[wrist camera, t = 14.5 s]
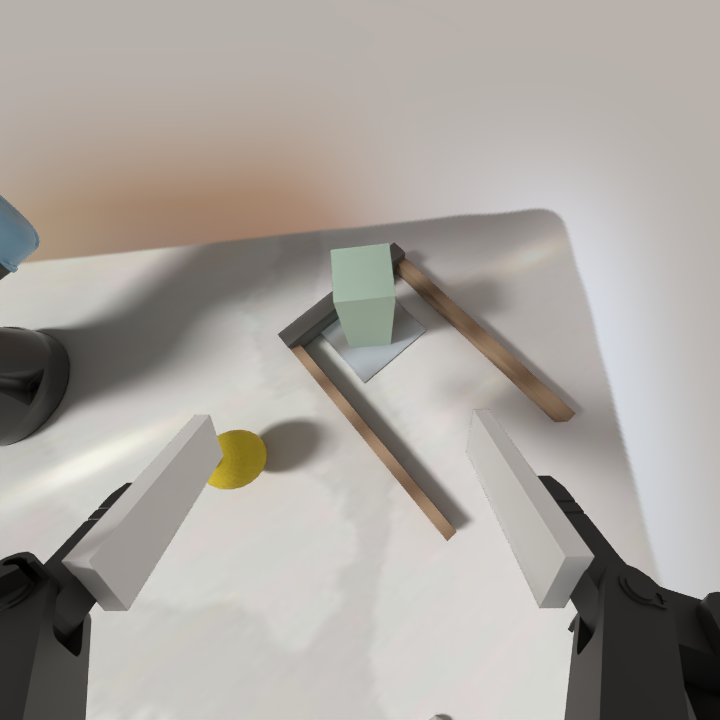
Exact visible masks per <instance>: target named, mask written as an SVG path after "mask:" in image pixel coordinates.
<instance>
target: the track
mask: <svg viewBox="0 0 720 720" xmlns="http://www.w3.org/2000/svg"><path fill="white" fill-rule="evenodd" d="M390 254H391V262H392V270H393V275H394V274H395V273H396V272H397V273H398V274H399V275H400V276H401V277H402V278H403V279H404V280H405V281H406V282H407V283H408V284H409V285H410V286H411V287H413V288H414V289H415V290H416V291H417V292H418V293H419V294H420V295H421V296H422V297H423V298H424V299H425V300H426V301H427V302H428V303H430V304H431V305H432V306H433V307H434V308H435V309H436V310H437V311H438V312H439V313H440V314H441V315H442V316H443V317H444V318H445V319H447V320H448V321H449V322H450V323H451V324H452V325H453V326H454V327H455V328H456V329H457V330H458V331H459V332H460V333H461V334H462V335H464V336H465V337H466V338H467V339H468V340H469V341H470V342H471V343H472V344H473V345H474V346H475V347H476V348H477V349H478V350H479V351H480V352H482V353H483V354H484V355H485V356H486V357H487V358H488V359H489V360H490V361H491V362H492V363H493V364H494V365H495V366H496V367H497V368H499V369H500V370H501V371H502V372H503V373H504V374H505V375H506V376H507V377H508V378H509V379H510V380H511V381H512V382H513V383H514V384H516V385H517V386H518V387H519V388H520V389H521V390H522V391H523V392H524V393H525V394H526V395H527V396H528V397H529V398H530V399H531V400H533V401H534V402H535V403H536V404H537V405H538V406H539V407H540V408H541V409H542V410H543V411H544V412H545V413H546V414H547V415H548V416H550V417H551V418H552V419H553V420H554V421H555V422H565V421H569V420H570V419H571V418H572V417H573V416H574V415H575V414H576V413H574V412H573V411H572V410H571V409H570V408H569V407H568V406H567V405H566V404H565V403H564V402H562V401H561V400H560V399H559V398H558V397H557V396H556V395H555V394H554V393H553V392H551V391H550V390H549V389H548V388H547V387H546V386H545V385H544V384H543V383H542V382H540V381H539V380H538V379H537V378H536V377H535V376H534V375H533V374H532V373H531V372H530V371H528V370H527V369H526V368H525V367H524V366H523V365H522V364H521V363H520V362H519V361H517V360H516V359H515V358H514V357H513V356H512V355H511V354H510V353H509V352H508V351H506V350H505V349H504V348H503V347H502V346H501V345H500V344H499V343H498V342H497V341H496V340H494V339H493V338H492V337H491V336H490V335H489V334H488V333H487V332H486V331H485V330H483V329H482V328H481V327H480V326H479V325H478V324H477V323H476V322H475V321H474V320H472V319H471V318H470V317H469V316H468V315H467V314H466V313H465V312H464V311H463V310H462V309H460V308H459V307H458V306H457V305H456V304H455V303H454V302H453V301H452V300H451V299H449V298H448V297H447V296H446V295H445V294H444V293H443V292H442V291H441V290H440V289H438V288H437V287H436V286H435V285H434V284H433V283H432V282H431V281H430V280H429V279H428V278H426V277H425V276H424V275H423V274H422V273H421V272H420V271H419V270H418V269H417V268H415V267H414V266H413V265H412V264H411V263H410V262H409V261H408V260H407V259H406V258H404V257H405V252H404V251H403V250H402V249H401V248H400V247H399V246H398V245H396V244H395V243H393V244H391V245H390ZM425 331H426V329H425V328H424V327H423V326H422V325H421V324H419V323H418V322H417V321H416V320H415V319H414V318H413V317H412V316H411V315H410V314H409V313H408V312H407V311H406V310H405V309H404V308H403V307H402V306H401V305H400V304H399V303H398V302H397V301H396V300H395V308H394V317H393V327H392V336H391V344H390V345H380V346H369V347H359V348H350V347H349V344H348V341H347V339H346V336H345V333H344V330H343V328H342V325H341V322H340V319H339V317H338V314H337V311H336V308H335V306H334V303H333V291H332V292H331V293H329V294H328V295H327V296H326V297H324V298H323V299H322V300H321V301H319V302H318V303H317V304H316V305H314V306H313V307H312V308H310V309H309V310H308V311H307V312H305V313H304V314H303V315H302V316H300V317H299V318H298V319H297V320H295V321H294V322H293V323H291V324H290V325H289V326H288V327H286V328H285V329H284V330H283V331H281V332H280V333H279V334H278V335H279V337H280V338H281V339H282V340H283V342H284V343H285V344H286V345H287V346H288V347H289V348H290V349H291V351H292V352H293V353H294V354H295V355H296V357H297V358H298V359H299V360H300V362H301V363H302V364H303V365H304V366H305V368H306V369H307V370H308V371H309V373H310V374H311V375H312V376H313V377H314V379H315V380H316V381H317V382H318V384H319V385H320V386H321V387H322V388H323V390H324V391H325V392H326V393H327V395H328V396H329V397H330V398H331V399H332V401H333V402H334V403H335V404H336V406H337V407H338V408H339V409H340V410H341V412H342V413H343V414H344V415H345V417H346V418H347V419H348V420H349V421H350V423H351V424H352V425H353V426H354V428H355V429H356V430H357V431H358V432H359V434H360V435H361V436H362V437H363V439H364V440H365V441H366V442H367V444H368V445H369V446H370V447H371V448H372V450H373V451H374V452H375V453H376V455H377V456H378V457H379V458H380V459H381V461H382V462H383V463H384V464H385V466H386V467H387V468H388V469H389V470H390V472H391V473H392V474H393V475H394V477H395V478H396V479H397V480H398V481H399V483H400V484H401V485H402V486H403V488H404V489H405V490H406V491H407V492H408V494H409V495H410V496H411V497H412V499H413V500H414V501H415V502H416V503H417V505H418V506H419V507H420V508H421V510H422V511H423V512H424V513H425V514H426V516H427V517H428V518H429V519H430V521H431V522H432V523H433V524H434V525H435V527H436V528H437V529H438V530H439V532H440V533H441V534H442V535H443V536H444V538H445V539H446V540H447V541H448V540H449V539H450V538H451V537H452V536H453V535H454V534H455V533H456V531H455V530H454V528H453V527H452V526H451V524H450V523H449V522H448V521H447V520H446V518H445V517H444V516H443V515H442V514H441V512H440V511H439V510H438V509H437V508H436V506H435V505H434V504H433V503H432V502H431V500H430V499H429V498H428V497H427V496H426V494H425V493H424V492H423V491H422V490H421V489H420V487H419V486H418V485H417V484H416V483H415V481H414V480H413V479H412V478H411V477H410V475H409V474H408V473H407V472H406V471H405V469H404V468H403V467H402V466H401V465H400V463H399V462H398V461H397V460H396V459H395V457H394V456H393V455H392V454H391V453H390V451H389V450H388V449H387V448H386V447H385V445H384V444H383V443H382V442H381V441H380V439H379V438H378V437H377V436H376V435H375V433H374V432H373V431H372V430H371V429H370V427H369V426H368V425H367V424H366V423H365V421H364V420H363V419H362V418H361V417H360V415H359V414H358V413H357V412H356V411H355V409H354V408H353V407H352V406H351V405H350V404H349V402H348V401H347V400H346V399H345V398H344V396H343V395H342V394H341V393H340V392H339V390H338V389H337V388H336V387H335V386H334V384H333V383H332V382H331V381H330V380H329V378H328V377H327V376H326V375H325V374H324V372H323V371H322V370H321V369H320V368H319V366H318V365H317V364H316V363H315V362H314V360H313V359H312V358H311V357H310V356H309V354H308V353H307V352H306V351H305V350H304V347H305V346H306V345H307V344H309V343H310V342H311V341H312V340H314V339H315V338H316V337H317V336H319V335H320V334H322V335H323V336H324V337H325V339H326V340H327V341H328V342H329V343H330V344H331V345H332V347H333V348H334V349H335V350H336V351H337V352H338V353H339V355H340V356H341V357H342V358H343V359H344V360H345V361H346V363H347V364H348V365H349V366H350V367H351V368H352V369H353V371H354V372H355V373H356V374H357V375H358V376H359V377H360V379H361V380H362V381H363V382H364V383H365V382H367V381H368V380H369V379H370V378H371V377H372V376H374V375H375V374H376V373H377V372H378V371H379V370H381V369H382V368H383V367H384V366H385V365H386V364H388V363H389V362H390V361H391V360H392V359H393V358H394V357H396V356H397V355H398V354H399V353H400V352H401V351H403V350H404V349H405V348H406V347H407V346H408V345H410V344H411V343H412V342H413V341H414V340H415V339H417V338H418V337H419V336H420V335H421V334H422V333H424V332H425Z"/></svg>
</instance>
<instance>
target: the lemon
mask: <svg viewBox="0 0 720 720" xmlns="http://www.w3.org/2000/svg"><path fill="white" fill-rule="evenodd" d="M217 438H218V441H219V444H220V447H221V450H222V453H223V457H222V459H221V461H220V462H219V464H218V466H217V467H216V469H215V470H214V472H213V474H212V475H211V477H210V479H209V480H208V482H207V483H209V484H210V485H211V486H214V487H216V488H219V489H235V488H240V487H243V486H245V485H247V484H249V483H251V482H252V481H253V480H254V479H255V478H257V477H258V476H259V474H260V473H261V472H262V470H263V468H264V466H265V464H266V459H267V450H266V447H265V444H264V442H263V441H262V439H261V438H260V437H258V436H257V435H256V434H254V433H252V432H250V431H245V430H233V431H228V432H226V433H223V434H220V435H219V436H217Z"/></svg>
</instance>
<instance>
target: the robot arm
mask: <svg viewBox="0 0 720 720" xmlns="http://www.w3.org/2000/svg"><path fill="white" fill-rule="evenodd" d="M38 246H39V236H38V234H37V232H36V230H35V229H34V228H33V226H32V225H31V224H30V222H29V221H28V220H27V219H26V218H25V217H24V216H23V215H22V214H21V213H20V212H19V211H18V210H16V209H15V208H14V207H13V206H12V205H11V204H10V203H9V202H8V201H7V200H5V199H4V198H3V197H2V196H1V195H0V280H1V279H2V278H4V277H5V276H6V275H8V274H9V273H10V272H13V273H14V272H16V271H17V270H18V268H17V266H18V265H19V264H21V263H22V262H23V261H24V260H25V259H26V258H27V257H29V256H30V255H31V254H32V253H33V252H34V251H35V250H36V249H37V248H38ZM68 375H69V363H68V358H67V354H66V352H65V350H64V348H63V346H62V345H61V344H60V343H59V342H58V341H57V340H56V339H54V338H53V337H51V336H49V335H46V334H43V333H40V332H36V331H33V330H30V329H26V328H20V327H0V446H5V445H8V444H12V443H14V442H17V441H19V440H21V439H23V438H25V437H26V436H28V435H29V434H31V433H32V432H34V431H35V430H36V429H37V428H39V427H40V426H41V425H42V424H43V423H44V422H45V421H46V420H47V419H48V418H49V416H50V415H51V414H52V413H53V411H54V410H55V408H56V407H57V405H58V404H59V402H60V400H61V398H62V396H63V394H64V391H65V388H66V385H67V381H68ZM466 453H467V455H468V458H469V460H470V462H471V464H472V466H473V468H474V470H475V472H476V475H477V477H478V479H479V481H480V483H481V485H482V487H483V489H484V492H485V494H486V496H487V498H488V500H489V502H490V504H491V506H492V509H493V511H494V513H495V515H496V517H497V519H498V521H499V523H500V526H501V528H502V530H503V532H504V534H505V536H506V538H507V540H508V543H509V545H510V547H511V549H512V551H513V553H514V555H515V557H516V560H517V562H518V564H519V566H520V568H521V570H522V572H523V574H524V577H525V579H526V581H527V583H528V585H529V587H530V589H531V591H532V594H533V596H534V598H535V600H536V602H537V604H538V606H539V608H564V607H565V606H566V604H567V602H568V601H569V599H571V600H572V602H573V604H574V606H575V607H576V609H577V611H578V613H577V614H576V616H575V617H574V619H573V620H572V622H571V624H570V626H569V628H568V630H569V631H571V632H573V631H574V637H573V646H572V656H571V665H570V674H569V683H568V692H567V701H566V710H565V719H564V720H720V592H714V593H709V594H708V595H707V596H706V597H705V598H704V599H703V600H700V599H697V598H694V597H691V596H687V595H684V594H681V593H678V592H674V591H671V590H668V589H665V588H662V587H660V586H659V585H658V584H657V583H655V582H654V581H653V580H652V579H651V578H650V577H649V576H647V575H646V574H644V573H643V572H641V571H640V570H638V569H637V568H634V567H632V566H629V565H627V564H626V563H625V562H624V561H623V560H622V559H621V558H620V557H619V555H618V554H617V553H616V552H615V550H614V549H613V548H612V546H611V545H610V544H609V543H608V541H607V540H606V539H605V538H604V536H603V535H602V534H601V533H600V531H599V530H598V529H597V528H596V526H595V525H594V524H593V522H592V521H591V520H590V519H589V517H588V516H587V515H586V514H584V511H583V510H582V509H581V507H580V506H579V505H578V504H577V503H575V500H574V498H573V497H572V496H571V495H570V493H569V492H568V491H567V490H566V488H565V487H564V486H563V485H561V484H560V483H559V482H557V481H556V480H555V479H554V478H552V477H551V476H537V475H536V474H535V472H534V471H533V470H532V468H531V467H530V465H529V464H528V463H527V461H526V460H525V458H524V457H523V456H522V454H521V453H520V451H519V450H518V449H517V447H516V446H515V444H514V443H513V442H512V440H511V439H510V437H509V436H508V435H507V433H506V432H505V430H504V429H503V428H502V426H501V425H500V423H499V422H498V421H497V419H496V418H495V416H494V415H493V414H492V412H491V411H490V409H474V410H473V415H472V421H471V426H470V432H469V437H468V442H467V448H466ZM222 457H223V453H222V450H221V447H220V444H219V441H218V438H217V435H216V432H215V429H214V426H213V423H212V420H211V417H210V415H194V416H193V417H192V419H191V420H190V421H189V422H188V423H187V424H186V425H185V426H184V427H183V428H182V430H181V431H180V432H179V433H178V434H177V435H176V436H175V437H174V438H173V439H172V441H171V442H170V443H169V444H168V445H167V446H166V447H165V448H164V449H163V450H162V452H161V453H160V454H159V455H158V456H157V457H156V458H155V459H154V460H153V461H152V462H151V464H150V465H149V466H148V467H147V468H146V469H145V470H144V471H143V472H142V473H141V475H140V476H139V477H138V478H137V479H136V480H135V481H134V482H133V483H126V484H125V485H123V486H122V487H120V488H119V489H118V490H116V491H115V492H113V493H112V494H111V495H110V496H109V497H108V498H107V499H106V500H105V501H104V502H103V503H102V504H101V505H100V506H99V509H98V510H96V511H95V512H94V513H93V514H92V515H91V516H90V517H89V518H88V521H85V522H84V523H83V524H82V525H81V526H80V527H79V528H78V529H77V530H76V532H75V533H74V534H73V535H72V536H71V537H70V538H69V539H68V540H67V541H66V542H65V543H64V544H63V545H62V546H61V547H60V548H59V549H58V550H57V551H56V552H55V554H54V555H53V556H52V557H51V558H50V559H49V560H48V561H47V562H46V563H45V564H44V565H43V564H42V563H41V562H40V561H39V560H38V558H37V557H36V556H35V555H34V554H32V553H30V552H22V553H17V554H14V555H11V556H9V557H6V558H4V559H2V560H0V720H85V718H86V702H87V685H88V668H89V651H90V634H91V617H90V614H89V613H88V612H89V611H90V610H91V608H92V607H93V605H94V604H95V603H96V601H97V603H98V604H99V605H100V606H101V607H102V608H103V609H104V611H128V610H129V608H130V607H131V605H132V603H133V602H134V600H135V598H136V597H137V595H138V594H139V592H140V590H141V589H142V587H143V586H144V584H145V582H146V581H147V579H148V577H149V576H150V574H151V573H152V571H153V569H154V568H155V566H156V564H157V563H158V561H159V560H160V558H161V556H162V555H163V553H164V551H165V550H166V548H167V547H168V545H169V543H170V542H171V540H172V539H173V537H174V535H175V534H176V532H177V530H178V529H179V527H180V526H181V524H182V522H183V521H184V519H185V517H186V516H187V514H188V513H189V511H190V509H191V508H192V506H193V504H194V503H195V501H196V500H197V498H198V496H199V495H200V493H201V491H202V490H203V488H204V487H205V485H206V483H207V482H208V480H209V479H210V477H211V475H212V474H213V472H214V470H215V469H216V467H217V466H218V464H219V462H220V461H221V459H222Z"/></svg>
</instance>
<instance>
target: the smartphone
mask: <svg viewBox="0 0 720 720" xmlns="http://www.w3.org/2000/svg"><path fill="white" fill-rule="evenodd" d="M429 720H443V718H440V717H438V716H436V715H435V716H433V717H432V718H431V719H429Z"/></svg>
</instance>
